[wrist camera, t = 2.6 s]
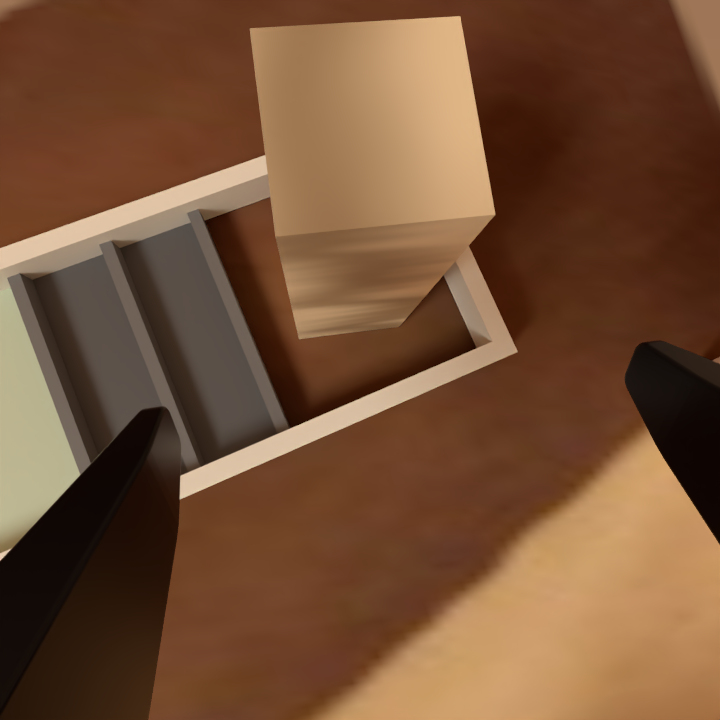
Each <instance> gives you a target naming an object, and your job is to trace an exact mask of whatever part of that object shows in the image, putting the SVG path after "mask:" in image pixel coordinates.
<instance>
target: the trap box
mask: <svg viewBox="0 0 720 720" xmlns="http://www.w3.org/2000/svg"><path fill="white" fill-rule="evenodd" d="M268 197H270V188H269V180H268V172H267V164H266V156H265V155H264V156H261V157H259V158H256V159H253V160H250V161H247V162H244V163H241V164H239V165H236V166H233V167H230V168H227V169H224V170H222V171H219V172H216V173H213V174H210V175H207V176H205V177H202V178H199V179H196V180H193V181H190V182H187V183H185V184H182V185H179V186H176V187H173V188H170V189H168V190H165V191H162V192H159V193H156V194H153V195H151V196H148V197H145V198H142V199H139V200H136V201H133V202H131V203H128V204H125V205H122V206H119V207H116V208H114V209H111V210H108V211H105V212H102V213H99V214H96V215H94V216H91V217H88V218H85V219H82V220H79V221H77V222H74V223H71V224H68V225H65V226H62V227H60V228H57V229H54V230H51V231H48V232H45V233H42V234H40V235H37V236H34V237H31V238H28V239H25V240H23V241H20V242H17V243H14V244H11V245H8V246H6V247H3V248H0V560H1V559H2V558H3V557H4V556H5V555H6V554H7V553H8V552H9V551H10V550H11V549H12V548H13V547H14V545H15V544H16V543H17V542H18V541H19V540H20V539H21V538H22V537H23V536H24V535H25V534H26V533H27V531H28V530H29V529H30V528H31V527H32V526H33V525H34V524H35V523H36V522H37V521H38V520H39V519H40V518H41V516H42V515H43V514H44V513H45V512H46V511H47V510H48V509H49V508H50V507H51V506H52V505H53V504H54V503H55V501H56V500H57V499H58V498H59V497H60V496H61V495H62V494H63V493H64V492H65V491H66V490H67V489H68V487H69V486H70V485H71V484H72V483H73V482H74V481H75V480H76V479H77V478H78V477H79V476H80V475H81V474H82V472H83V471H84V470H85V469H86V468H87V467H88V466H89V465H90V464H91V463H92V462H93V461H94V460H95V458H96V457H97V456H98V455H99V454H100V453H101V452H102V451H103V450H104V449H105V448H106V447H107V446H108V445H109V443H110V442H111V441H112V440H113V439H114V438H115V437H116V436H117V435H118V434H119V433H120V432H121V431H122V430H123V428H124V427H125V426H126V425H127V424H128V423H129V422H130V421H131V420H132V419H133V418H134V417H135V416H136V414H137V413H138V412H139V411H141V410H142V409H145V408H151V407H159V406H164V407H167V409H168V410H169V412H170V414H171V416H172V419H173V422H174V424H175V427H176V429H177V432H178V434H179V437H180V441H181V473H180V499H182V498H184V497H186V496H189V495H191V494H193V493H196V492H198V491H200V490H203V489H205V488H207V487H209V486H212V485H214V484H216V483H219V482H221V481H223V480H225V479H228V478H230V477H232V476H235V475H237V474H239V473H241V472H244V471H246V470H248V469H251V468H253V467H255V466H257V465H260V464H262V463H264V462H267V461H269V460H271V459H274V458H276V457H278V456H280V455H283V454H285V453H287V452H290V451H292V450H294V449H296V448H299V447H301V446H303V445H306V444H308V443H310V442H312V441H315V440H317V439H319V438H322V437H324V436H326V435H328V434H331V433H333V432H335V431H338V430H340V429H342V428H345V427H347V426H349V425H351V424H354V423H356V422H358V421H361V420H363V419H365V418H367V417H370V416H372V415H374V414H377V413H379V412H381V411H383V410H386V409H388V408H390V407H393V406H395V405H397V404H399V403H402V402H404V401H406V400H409V399H411V398H413V397H416V396H418V395H420V394H422V393H425V392H427V391H429V390H432V389H434V388H436V387H438V386H441V385H443V384H445V383H448V382H450V381H452V380H454V379H457V378H459V377H461V376H464V375H466V374H468V373H471V372H473V371H475V370H477V369H480V368H482V367H484V366H487V365H489V364H491V363H493V362H496V361H498V360H500V359H503V358H505V357H507V356H509V355H512V354H514V353H516V352H518V351H517V349H516V347H515V345H514V343H513V341H512V338H511V336H510V334H509V332H508V330H507V328H506V325H505V323H504V321H503V319H502V317H501V315H500V312H499V310H498V308H497V306H496V304H495V302H494V299H493V297H492V295H491V293H490V291H489V289H488V286H487V284H486V282H485V280H484V278H483V276H482V273H481V271H480V269H479V267H478V265H477V263H476V260H475V258H474V256H473V254H472V252H471V250H470V247H469V246H468V247H467V248H466V249H465V251H464V252H463V253H462V254H461V255H460V256H459V258H458V259H457V260H456V261H455V262H454V263H453V265H452V266H451V267H450V268H449V269H448V270H447V272H446V273H445V274H444V277H445V280H446V282H447V284H448V286H449V288H450V291H451V293H452V295H453V297H454V299H455V302H456V304H457V306H458V308H459V310H460V313H461V315H462V317H463V319H464V321H465V324H466V326H467V328H468V330H469V332H470V335H471V337H472V339H473V341H474V343H475V346H476V349H474V350H472V351H469V352H467V353H465V354H462V355H460V356H458V357H455V358H453V359H451V360H448V361H446V362H444V363H441V364H439V365H437V366H434V367H432V368H430V369H428V370H425V371H423V372H421V373H418V374H416V375H414V376H411V377H409V378H407V379H404V380H402V381H400V382H397V383H395V384H393V385H390V386H388V387H386V388H383V389H381V390H379V391H376V392H374V393H372V394H369V395H367V396H365V397H362V398H360V399H358V400H355V401H353V402H351V403H348V404H346V405H344V406H342V407H339V408H337V409H335V410H332V411H330V412H328V413H325V414H323V415H321V416H318V417H316V418H314V419H311V420H309V421H307V422H304V423H302V424H300V425H297V426H295V427H293V428H291V427H290V425H289V423H288V420H287V418H286V415H285V413H284V411H283V408H282V406H281V403H280V401H279V398H278V396H277V394H276V391H275V389H274V386H273V384H272V382H271V379H270V377H269V374H268V372H267V369H266V367H265V365H264V362H263V360H262V357H261V355H260V353H259V350H258V348H257V345H256V343H255V340H254V338H253V336H252V333H251V331H250V328H249V326H248V324H247V321H246V319H245V316H244V314H243V311H242V309H241V307H240V304H239V302H238V299H237V297H236V295H235V292H234V290H233V287H232V285H231V282H230V280H229V278H228V275H227V273H226V270H225V268H224V266H223V263H222V261H221V258H220V256H219V253H218V251H217V249H216V246H215V244H214V241H213V239H212V237H211V234H210V232H209V229H208V227H207V224H206V222H205V220H208V219H211V218H213V217H216V216H219V215H222V214H224V213H227V212H230V211H233V210H235V209H238V208H241V207H244V206H246V205H249V204H252V203H255V202H257V201H260V200H263V199H266V198H268Z"/></svg>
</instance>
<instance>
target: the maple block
mask: <svg viewBox="0 0 720 720" xmlns="http://www.w3.org/2000/svg"><path fill="white" fill-rule="evenodd" d="M250 35H251V43H252V51H253V59H254V67H255V76H256V84H257V92H258V100H259V108H260V116H261V124H262V132H263V140H264V148H265V156H266V164H267V172H268V180H269V188H270V197H271V205H272V213H273V221H274V229H275V237H276V241H277V245H278V250H279V254H280V258H281V263H282V267H283V272H284V276H285V280H286V285H287V289H288V293H289V298H290V302H291V306H292V311H293V315H294V319H295V324H296V328H297V332H298V337H299V339H303V338H312V337H320V336H328V335H336V334H344V333H352V332H361V331H369V330H377V329H385V328H393V327H400V325H401V324H402V323H403V322H404V321H405V320H406V318H407V317H408V316H409V315H410V314H411V312H412V311H413V310H414V309H415V308H416V307H417V305H418V304H419V303H420V302H421V301H422V300H423V298H424V297H425V296H426V295H427V294H428V293H429V291H430V290H431V289H432V288H433V287H434V286H435V284H436V283H437V282H438V281H439V280H440V279H441V277H442V276H443V275H444V274H445V273H446V272H447V270H448V269H449V268H450V267H451V266H452V265H453V263H454V262H455V261H456V260H457V259H458V258H459V256H460V255H461V254H462V253H463V252H464V251H465V249H466V248H467V247H468V246H469V245H470V244H471V242H472V241H473V240H474V239H475V238H476V237H477V235H478V234H479V233H480V232H481V231H482V230H483V228H484V227H485V226H486V225H487V224H488V223H489V221H490V220H491V219H492V218H493V217H494V216H495V209H494V204H493V198H492V192H491V187H490V181H489V176H488V170H487V164H486V159H485V153H484V148H483V142H482V136H481V131H480V125H479V119H478V114H477V108H476V103H475V97H474V91H473V86H472V80H471V74H470V69H469V63H468V58H467V52H466V46H465V41H464V35H463V30H462V24H461V18H460V16H457V17H440V18H423V19H405V20H388V21H371V22H353V23H336V24H319V25H301V26H284V27H267V28H250Z"/></svg>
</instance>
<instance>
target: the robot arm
mask: <svg viewBox="0 0 720 720" xmlns="http://www.w3.org/2000/svg"><path fill="white" fill-rule="evenodd" d="M625 384H626V387H627V389H628V391H629V393H630V395H631V397H632V399H633V401H634V403H635V405H636V407H637V409H638V411H639V413H640V415H641V417H642V419H643V421H644V423H645V424H646V426H647V428H648V430H649V432H650V434H651V436H652V438H653V440H654V442H655V444H656V446H657V448H658V449H659V451H660V453H661V454H662V456H663V458H664V459H665V461H666V463H667V464H668V466H669V467H670V469H671V470H672V472H673V473H674V475H675V476H676V478H677V479H678V481H679V483H680V484H681V486H682V487H683V489H684V490H685V492H686V493H687V495H688V496H689V498H690V499H691V501H692V503H693V504H694V506H695V507H696V509H697V510H698V512H699V513H700V515H701V516H702V518H703V520H704V521H705V523H706V524H707V526H708V527H709V529H710V530H711V532H712V533H713V535H714V536H715V538H716V540H717V541H718V543H719V544H720V364H719V363H716V362H714V361H711V360H709V359H706V358H704V357H702V356H699V355H697V354H694V353H692V352H689V351H687V350H684V349H682V348H679V347H677V346H674V345H672V344H669V343H667V342H664V341H651V342H643V343H641V344H639V345H638V346H637V347H636V349H635V351H634V353H633V356H632V358H631V361H630V363H629V366H628V369H627V371H626V374H625ZM180 473H181V441H180V437H179V434H178V432H177V429H176V427H175V424H174V422H173V419H172V416H171V414H170V412H169V410H168V409H167V407H164V406H159V407H151V408H145V409H142V410H141V411H139V412H138V413H137V414H136V416H135V417H134V418H133V419H132V420H131V421H130V422H129V423H128V424H127V425H126V426H125V427H124V428H123V430H122V431H121V432H120V433H119V434H118V435H117V436H116V437H115V438H114V439H113V440H112V441H111V442H110V443H109V445H108V446H107V447H106V448H105V449H104V450H103V451H102V452H101V453H100V454H99V455H98V456H97V457H96V458H95V460H94V461H93V462H92V463H91V464H90V465H89V466H88V467H87V468H86V469H85V470H84V471H83V472H82V474H81V475H80V476H79V477H78V478H77V479H76V480H75V481H74V482H73V483H72V484H71V485H70V486H69V487H68V489H67V490H66V491H65V492H64V493H63V494H62V495H61V496H60V497H59V498H58V499H57V500H56V501H55V503H54V504H53V505H52V506H51V507H50V508H49V509H48V510H47V511H46V512H45V513H44V514H43V515H42V516H41V518H40V519H39V520H38V521H37V522H36V523H35V524H34V525H33V526H32V527H31V528H30V529H29V530H28V531H27V533H26V534H25V535H24V536H23V537H22V538H21V539H20V540H19V541H18V542H17V543H16V544H15V545H14V547H13V548H12V549H11V550H10V551H9V552H8V553H7V554H6V555H5V556H4V557H3V558H2V559H1V560H0V720H148V718H149V711H150V705H151V699H152V693H153V686H154V680H155V674H156V667H157V661H158V655H159V648H160V642H161V636H162V629H163V623H164V617H165V610H166V604H167V598H168V591H169V585H170V579H171V572H172V566H173V560H174V554H175V547H176V541H177V533H178V525H179V503H180Z"/></svg>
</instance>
